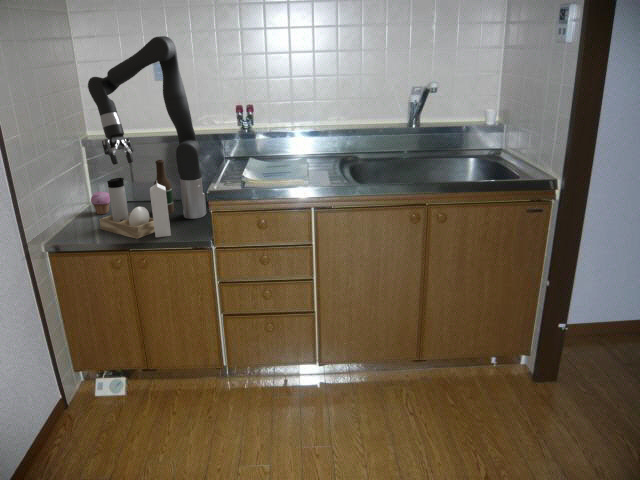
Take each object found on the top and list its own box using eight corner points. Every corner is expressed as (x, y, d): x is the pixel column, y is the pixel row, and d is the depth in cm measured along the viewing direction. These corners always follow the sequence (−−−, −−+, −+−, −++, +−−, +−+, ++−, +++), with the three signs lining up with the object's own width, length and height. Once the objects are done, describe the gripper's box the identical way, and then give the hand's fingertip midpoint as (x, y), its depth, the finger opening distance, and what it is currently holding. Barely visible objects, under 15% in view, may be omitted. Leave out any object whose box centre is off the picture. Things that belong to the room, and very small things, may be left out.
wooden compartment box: (124, 221, 236) (123, 211, 235) (160, 229, 225) (158, 219, 224) (101, 229, 227) (99, 219, 225) (137, 238, 216) (135, 228, 214)
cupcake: (95, 210, 251) (91, 189, 247) (114, 209, 252) (111, 188, 249) (91, 216, 243) (87, 195, 239) (111, 215, 244) (108, 193, 241)
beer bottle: (178, 211, 248) (172, 159, 240) (165, 216, 242) (158, 163, 234) (166, 208, 252) (160, 157, 244) (153, 213, 246) (146, 161, 238)
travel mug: (125, 227, 225) (118, 180, 218) (110, 226, 226) (103, 179, 219) (133, 222, 231) (126, 176, 223) (119, 221, 232) (112, 175, 225)
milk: (155, 237, 217) (148, 184, 209) (155, 232, 222) (148, 180, 214) (171, 235, 218) (164, 182, 210) (170, 231, 224) (164, 178, 216)
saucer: (148, 225, 226) (145, 203, 223) (150, 226, 226) (147, 204, 222) (129, 232, 219) (126, 209, 215) (132, 233, 218) (128, 210, 215)
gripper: (105, 123, 219) (116, 162, 221) (130, 122, 232) (141, 160, 233) (92, 128, 222) (104, 167, 224) (118, 127, 235) (129, 164, 237)
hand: (123, 163), depth 229 cm, fingers open, 8 cm apart
